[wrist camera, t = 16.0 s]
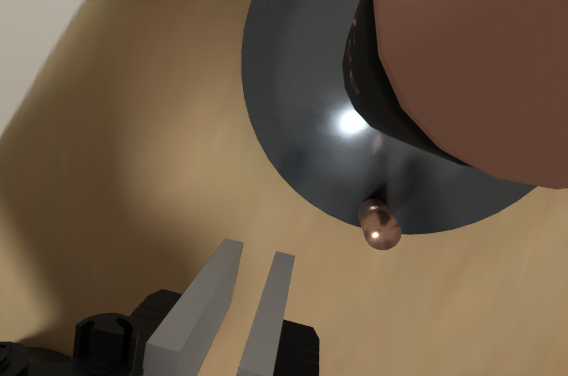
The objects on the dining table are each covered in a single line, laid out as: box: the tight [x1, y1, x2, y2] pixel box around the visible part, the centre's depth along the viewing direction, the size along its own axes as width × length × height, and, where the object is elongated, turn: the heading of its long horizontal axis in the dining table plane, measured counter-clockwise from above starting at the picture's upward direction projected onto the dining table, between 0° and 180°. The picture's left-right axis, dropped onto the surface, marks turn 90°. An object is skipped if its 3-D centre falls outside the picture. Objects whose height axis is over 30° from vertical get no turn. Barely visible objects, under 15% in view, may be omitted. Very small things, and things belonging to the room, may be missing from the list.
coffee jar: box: [342, 0, 568, 189], centre depth 18 cm, size 11×11×18 cm
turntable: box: [242, 0, 537, 250], centre depth 25 cm, size 26×26×7 cm
